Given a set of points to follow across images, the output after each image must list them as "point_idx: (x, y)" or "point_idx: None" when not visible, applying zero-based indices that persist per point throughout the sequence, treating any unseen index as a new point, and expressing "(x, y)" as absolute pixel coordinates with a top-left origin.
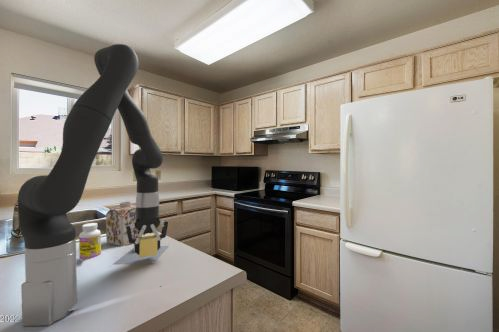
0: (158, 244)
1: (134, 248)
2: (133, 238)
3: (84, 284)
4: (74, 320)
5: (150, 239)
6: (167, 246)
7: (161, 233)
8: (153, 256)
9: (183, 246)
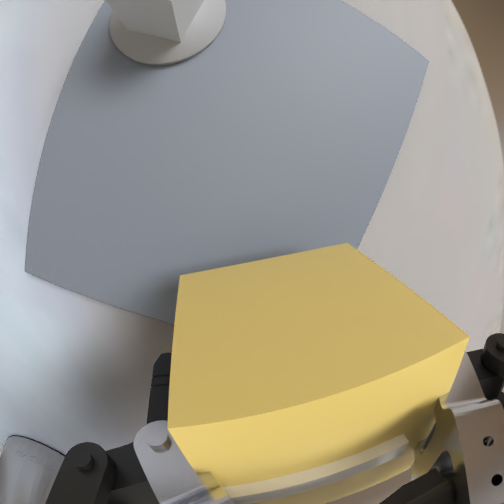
0: None
1: (128, 25)
2: (127, 485)
3: (13, 381)
4: None
5: (342, 492)
6: (418, 63)
7: (502, 371)
8: (309, 237)
9: (479, 88)
